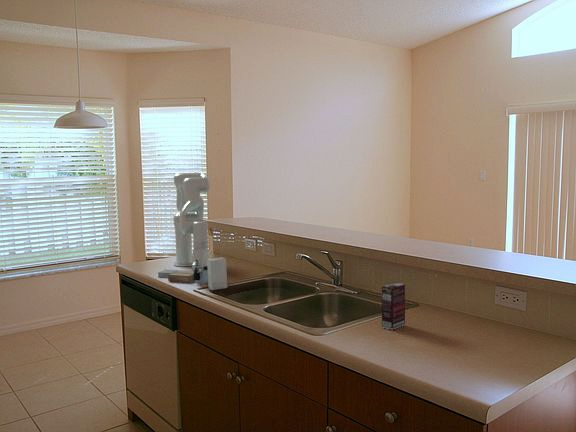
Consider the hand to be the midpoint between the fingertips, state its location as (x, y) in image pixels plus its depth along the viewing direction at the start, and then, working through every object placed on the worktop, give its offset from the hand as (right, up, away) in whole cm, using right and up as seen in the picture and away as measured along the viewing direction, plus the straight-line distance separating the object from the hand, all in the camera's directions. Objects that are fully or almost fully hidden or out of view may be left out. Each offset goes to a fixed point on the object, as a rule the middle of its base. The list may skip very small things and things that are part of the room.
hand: (201, 278), depth 271 cm
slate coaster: (-21, -1, +16) cm, 26 cm away
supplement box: (+84, -9, -77) cm, 114 cm away
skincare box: (+10, -4, -14) cm, 17 cm away
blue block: (0, -2, 0) cm, 2 cm away
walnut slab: (-10, -2, +6) cm, 12 cm away
